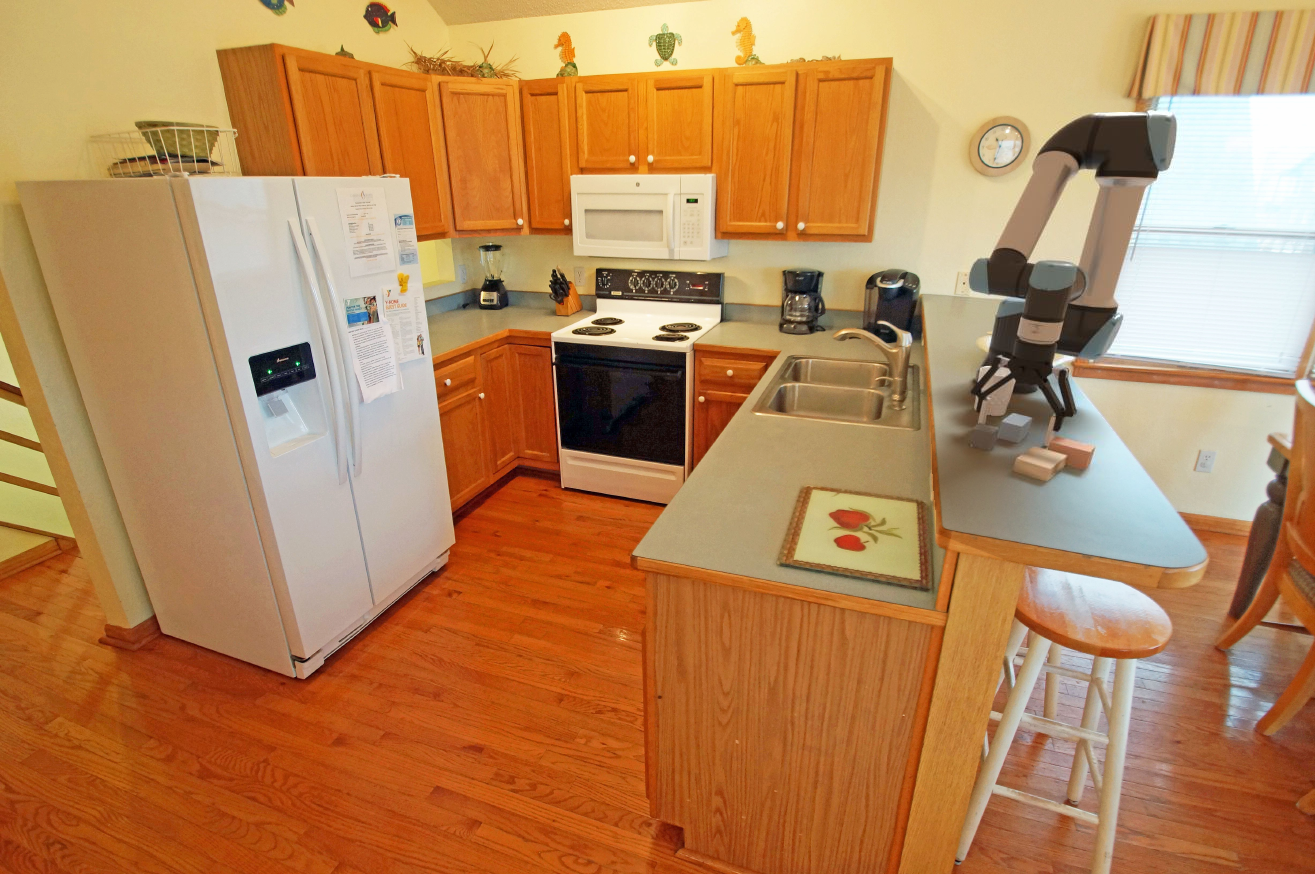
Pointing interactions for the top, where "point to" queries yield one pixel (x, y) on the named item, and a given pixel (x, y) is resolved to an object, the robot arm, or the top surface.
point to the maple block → (1040, 463)
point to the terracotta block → (1073, 451)
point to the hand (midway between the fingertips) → (1012, 435)
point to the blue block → (1015, 427)
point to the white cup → (997, 391)
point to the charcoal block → (984, 436)
